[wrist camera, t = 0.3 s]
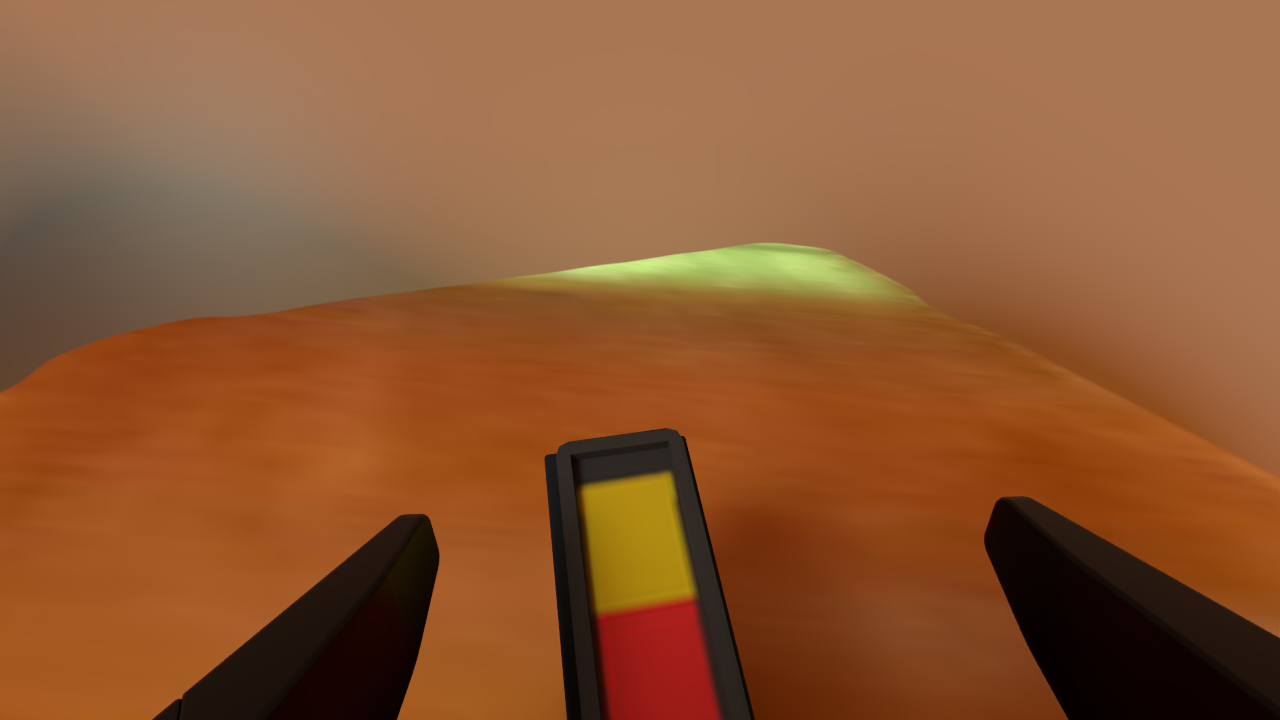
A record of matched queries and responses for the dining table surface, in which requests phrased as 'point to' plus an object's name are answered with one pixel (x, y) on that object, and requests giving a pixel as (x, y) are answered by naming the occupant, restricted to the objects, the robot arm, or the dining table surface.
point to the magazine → (639, 585)
